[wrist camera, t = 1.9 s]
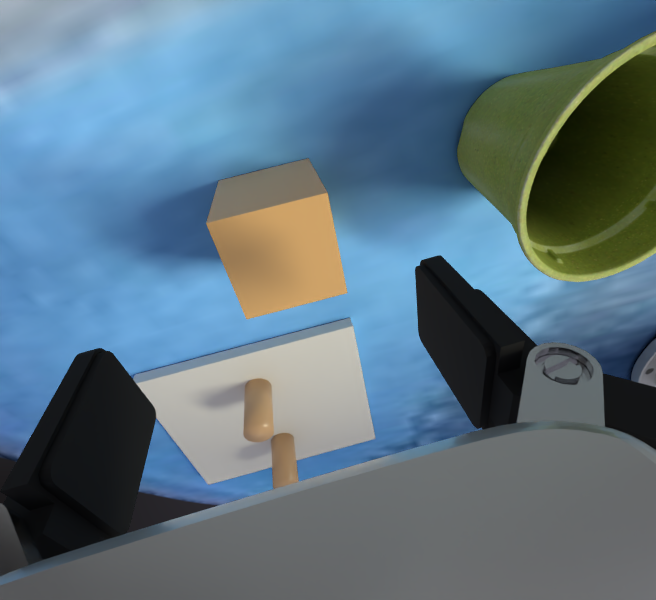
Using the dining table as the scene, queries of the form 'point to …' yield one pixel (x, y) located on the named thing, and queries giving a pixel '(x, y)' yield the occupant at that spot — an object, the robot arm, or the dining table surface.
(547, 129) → the plant pot
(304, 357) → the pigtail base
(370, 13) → the dining table surface
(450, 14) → the dining table surface
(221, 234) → the tan cardboard-like box
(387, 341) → the dining table surface
